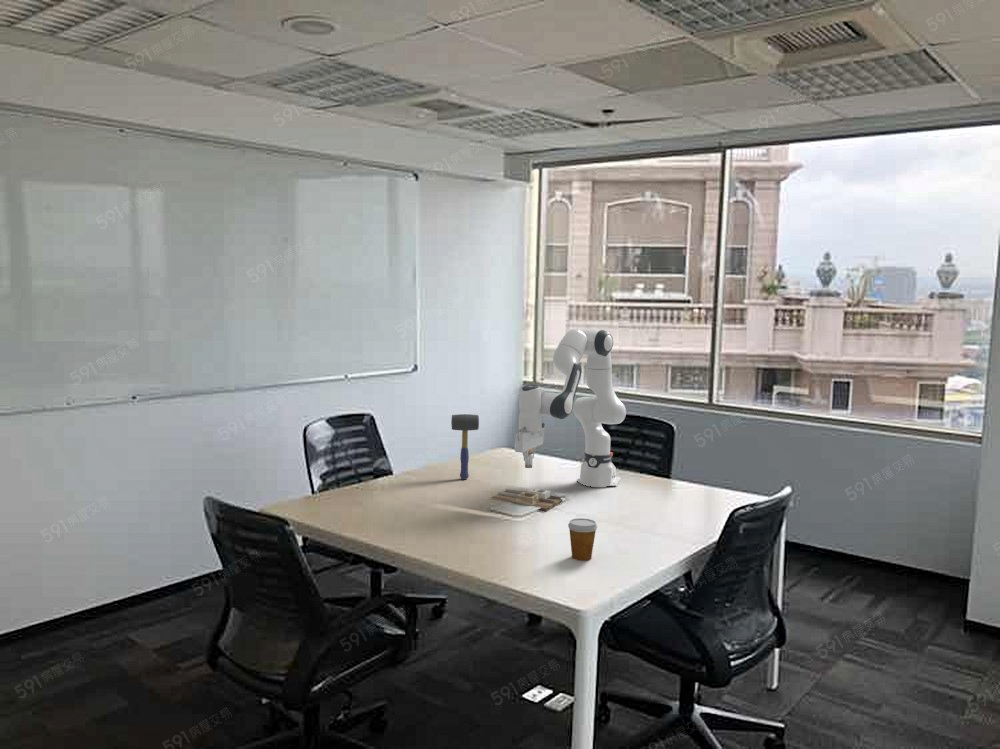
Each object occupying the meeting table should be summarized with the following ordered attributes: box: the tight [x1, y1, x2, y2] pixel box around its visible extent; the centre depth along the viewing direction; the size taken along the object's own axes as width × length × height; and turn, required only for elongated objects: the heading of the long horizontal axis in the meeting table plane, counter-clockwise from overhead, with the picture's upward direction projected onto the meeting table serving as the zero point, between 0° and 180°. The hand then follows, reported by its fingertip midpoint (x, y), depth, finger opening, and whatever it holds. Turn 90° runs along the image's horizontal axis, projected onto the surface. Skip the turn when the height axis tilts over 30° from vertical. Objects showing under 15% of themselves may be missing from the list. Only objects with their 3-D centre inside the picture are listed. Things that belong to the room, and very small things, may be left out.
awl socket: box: [515, 492, 540, 506], centre depth 322 cm, size 7×7×3 cm
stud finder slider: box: [526, 488, 551, 499], centre depth 329 cm, size 5×8×3 cm, turn 62°
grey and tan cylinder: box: [524, 448, 534, 469], centre depth 321 cm, size 4×4×8 cm
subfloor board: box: [488, 488, 563, 513], centre depth 328 cm, size 16×26×2 cm, turn 62°
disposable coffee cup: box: [567, 517, 598, 562], centre depth 261 cm, size 10×10×12 cm
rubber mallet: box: [451, 413, 480, 480], centre depth 363 cm, size 12×8×30 cm, turn 95°
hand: (528, 459), depth 321 cm, fingers closed on grey and tan cylinder, 3 cm apart
